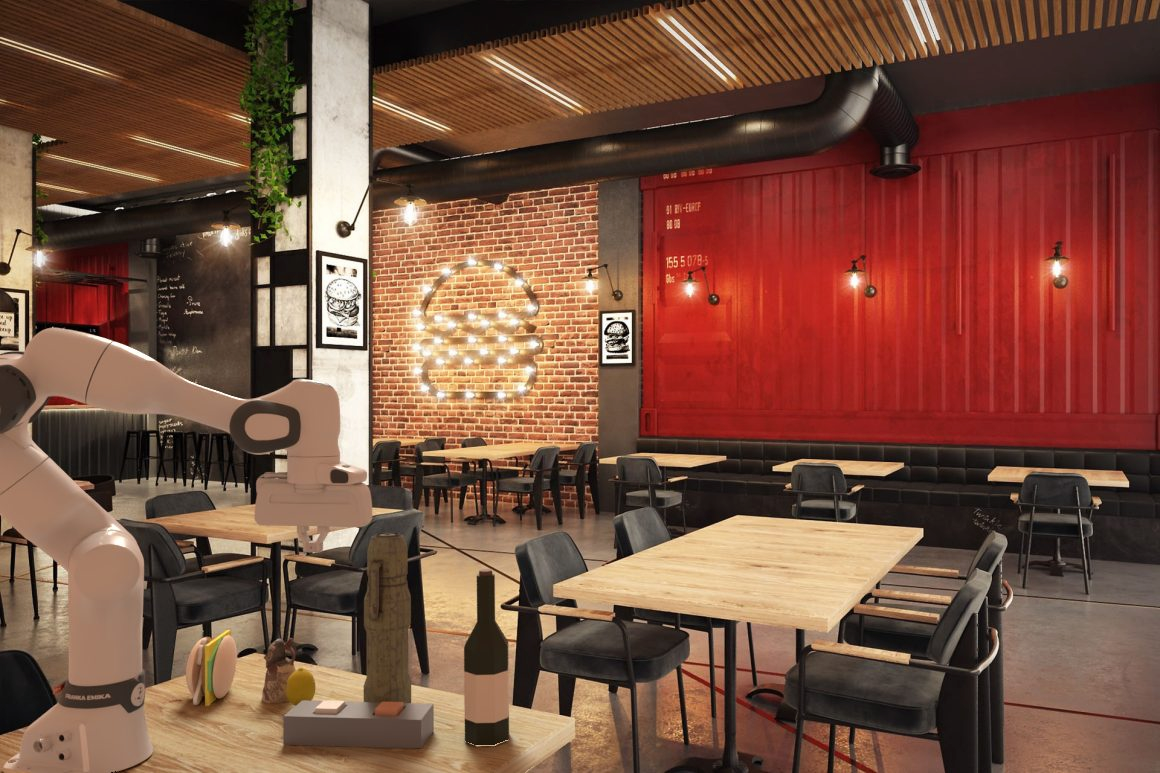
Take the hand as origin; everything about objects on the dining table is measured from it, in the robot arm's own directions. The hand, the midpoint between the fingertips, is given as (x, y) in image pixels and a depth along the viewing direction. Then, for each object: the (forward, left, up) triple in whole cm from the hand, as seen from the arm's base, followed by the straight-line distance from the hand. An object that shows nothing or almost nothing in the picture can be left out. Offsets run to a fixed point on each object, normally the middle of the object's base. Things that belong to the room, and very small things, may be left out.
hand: (313, 552), depth 150 cm
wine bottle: (+29, +8, -35) cm, 46 cm away
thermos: (+8, +16, -35) cm, 39 cm away
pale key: (0, +6, -32) cm, 33 cm away
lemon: (-11, +20, -35) cm, 41 cm away
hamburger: (-33, +26, -35) cm, 54 cm away
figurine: (-18, +26, -35) cm, 47 cm away
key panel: (+6, +6, -34) cm, 35 cm away
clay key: (+11, +6, -32) cm, 35 cm away
